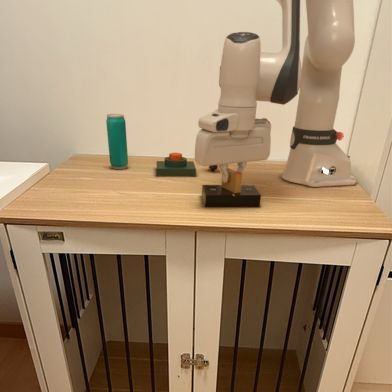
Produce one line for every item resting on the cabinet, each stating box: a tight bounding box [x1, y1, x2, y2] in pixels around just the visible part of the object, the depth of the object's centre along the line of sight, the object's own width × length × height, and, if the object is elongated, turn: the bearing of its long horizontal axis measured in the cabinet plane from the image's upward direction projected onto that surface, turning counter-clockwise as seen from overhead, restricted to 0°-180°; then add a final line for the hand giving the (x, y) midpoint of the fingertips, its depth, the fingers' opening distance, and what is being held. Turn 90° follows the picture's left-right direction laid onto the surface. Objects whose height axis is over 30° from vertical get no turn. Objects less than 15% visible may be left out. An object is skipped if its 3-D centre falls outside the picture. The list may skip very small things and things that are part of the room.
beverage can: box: [105, 113, 129, 171], centre depth 128 cm, size 6×6×15 cm
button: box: [168, 152, 183, 160], centre depth 127 cm, size 4×4×2 cm
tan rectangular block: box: [220, 167, 243, 193], centre depth 104 cm, size 6×2×5 cm, turn 29°
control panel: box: [201, 184, 262, 208], centre depth 106 cm, size 14×11×3 cm
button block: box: [155, 156, 197, 177], centre depth 129 cm, size 12×10×4 cm
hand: (231, 181), depth 104 cm, fingers closed, pressing on tan rectangular block
